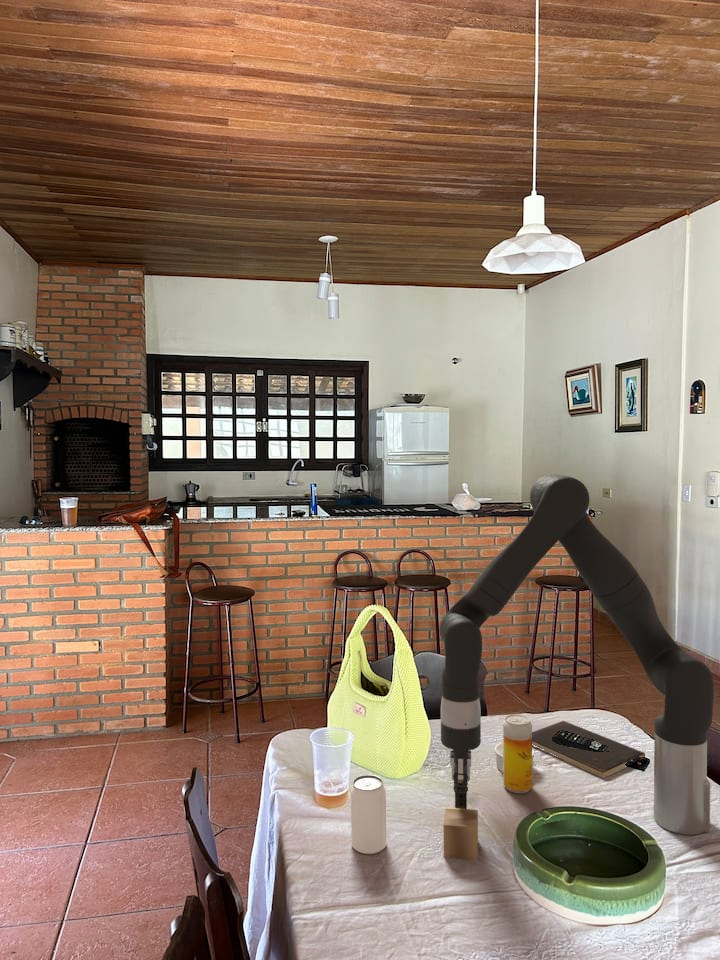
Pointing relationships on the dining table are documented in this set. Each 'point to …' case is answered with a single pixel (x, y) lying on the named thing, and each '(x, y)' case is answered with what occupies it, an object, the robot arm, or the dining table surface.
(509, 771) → the beer can
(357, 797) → the can
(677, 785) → the robot arm
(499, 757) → the ramekin
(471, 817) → the cube
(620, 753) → the hardcover book
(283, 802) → the dining table surface
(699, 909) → the dining table surface
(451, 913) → the dining table surface
